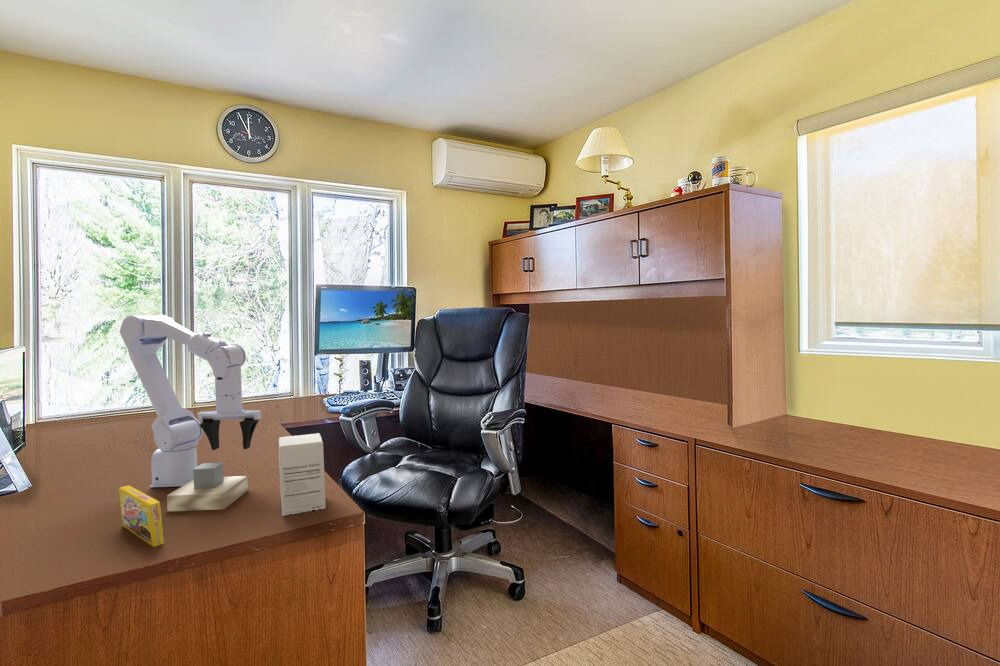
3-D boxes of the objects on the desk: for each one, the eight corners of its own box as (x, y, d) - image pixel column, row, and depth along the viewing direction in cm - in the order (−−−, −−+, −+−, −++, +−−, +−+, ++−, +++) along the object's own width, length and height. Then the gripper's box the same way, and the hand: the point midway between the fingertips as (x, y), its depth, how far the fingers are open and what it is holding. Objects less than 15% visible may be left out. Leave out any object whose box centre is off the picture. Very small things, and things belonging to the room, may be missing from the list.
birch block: (167, 513, 112) (166, 495, 112) (197, 494, 124) (196, 477, 124) (224, 511, 113) (223, 493, 112) (248, 492, 125) (247, 475, 124)
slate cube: (194, 489, 116) (193, 469, 116) (203, 482, 120) (202, 463, 120) (215, 487, 116) (214, 468, 116) (223, 481, 121) (222, 462, 120)
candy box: (120, 527, 104) (118, 487, 104) (132, 523, 106) (130, 484, 106) (151, 548, 94) (149, 504, 94) (164, 544, 96) (162, 500, 96)
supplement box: (280, 502, 116) (278, 436, 115) (322, 495, 120) (320, 432, 119) (281, 516, 108) (278, 446, 107) (326, 509, 111) (323, 441, 111)
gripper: (189, 397, 123) (192, 453, 123) (251, 396, 123) (253, 452, 124) (205, 392, 130) (208, 446, 130) (263, 391, 130) (266, 444, 131)
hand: (231, 448), depth 127 cm, fingers open, 7 cm apart
